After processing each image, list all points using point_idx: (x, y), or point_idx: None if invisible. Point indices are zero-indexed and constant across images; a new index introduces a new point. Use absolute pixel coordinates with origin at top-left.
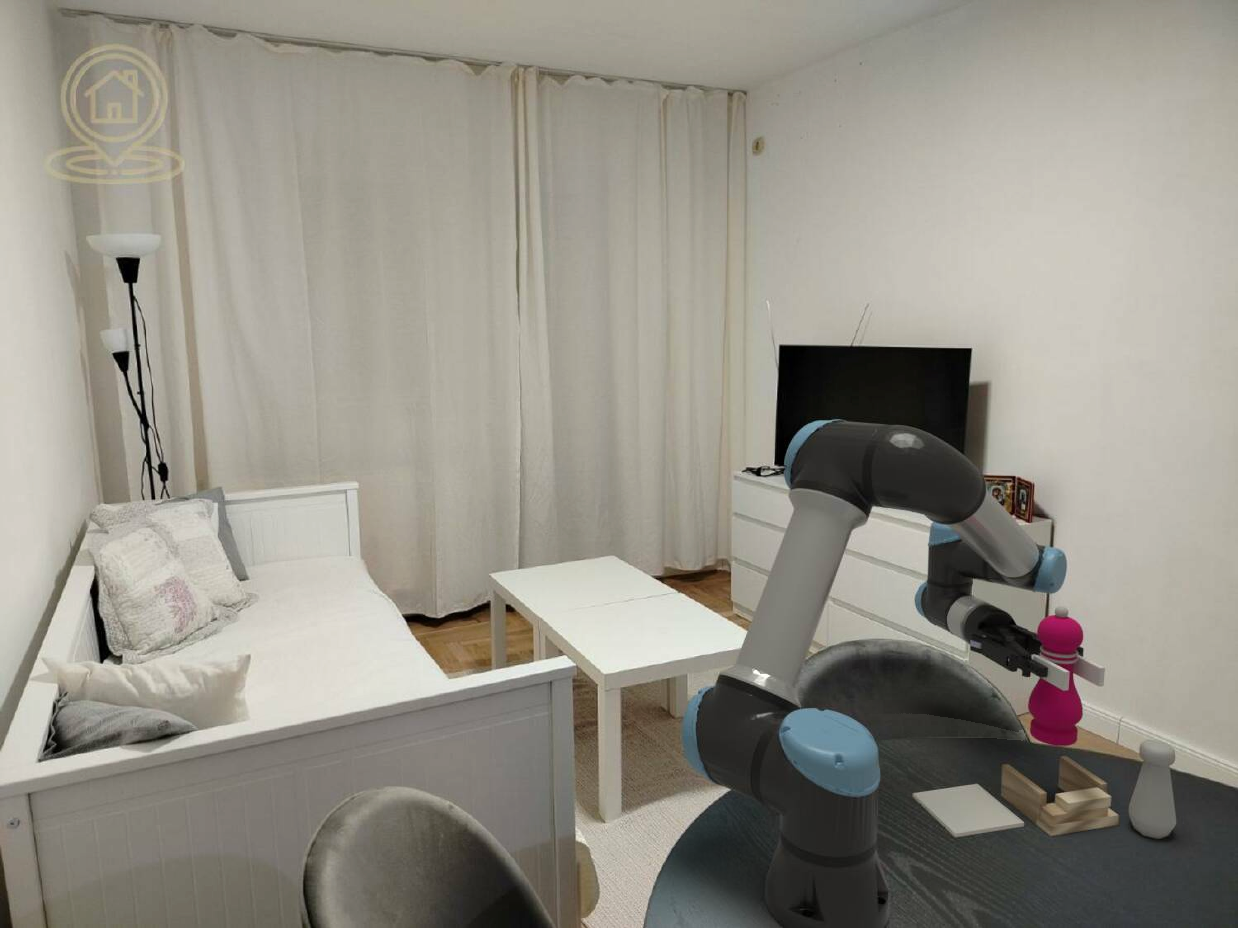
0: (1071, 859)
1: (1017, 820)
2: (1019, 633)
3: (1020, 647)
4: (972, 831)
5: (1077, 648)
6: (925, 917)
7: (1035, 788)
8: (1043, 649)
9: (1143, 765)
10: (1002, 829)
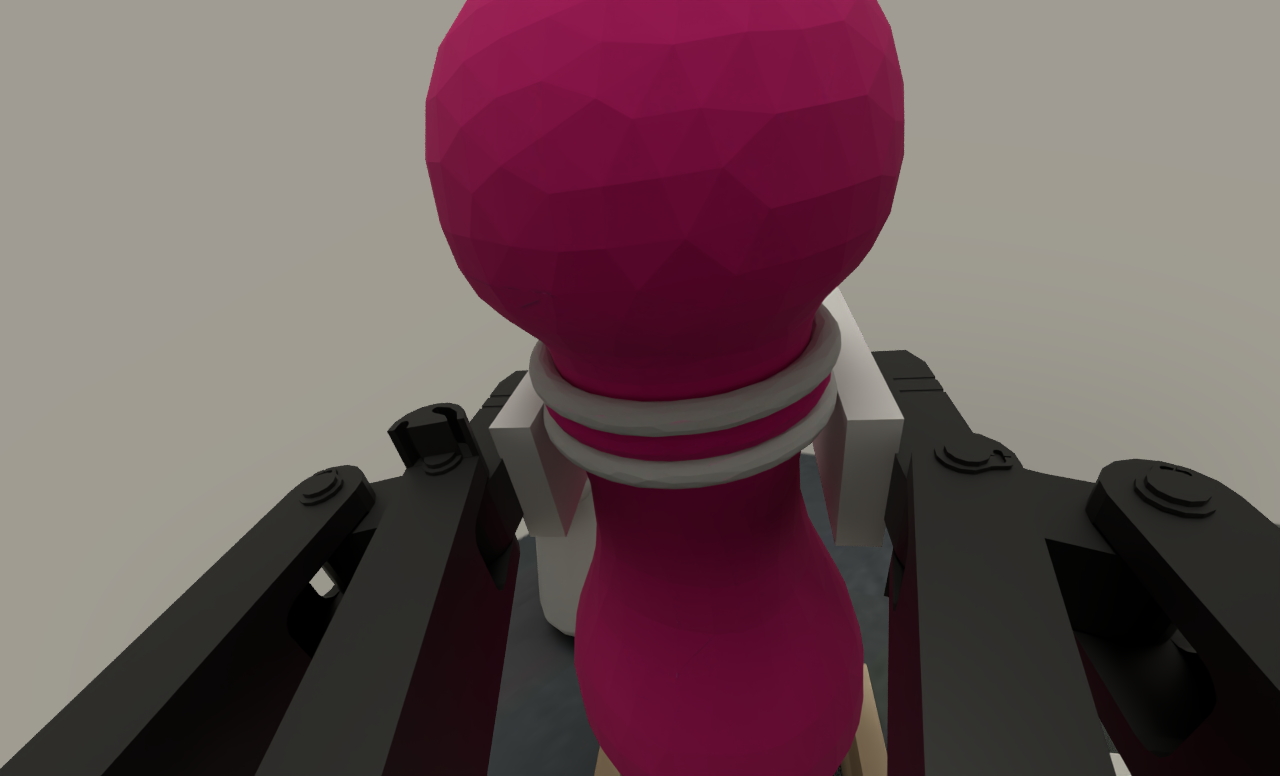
0: (845, 582)
1: None
2: None
3: (962, 691)
4: (1114, 755)
5: (346, 486)
6: None
7: (866, 699)
8: (826, 330)
9: (586, 509)
10: None
